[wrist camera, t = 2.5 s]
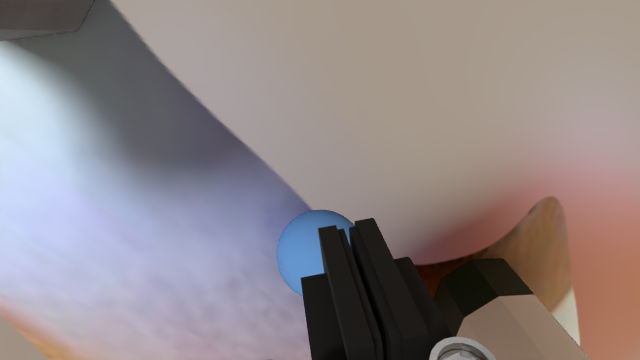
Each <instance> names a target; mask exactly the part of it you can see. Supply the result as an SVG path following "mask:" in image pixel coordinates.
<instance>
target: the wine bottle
mask: <svg viewBox="0 0 640 360" xmlns="http://www.w3.org/2000/svg"><path fill="white" fill-rule="evenodd" d="M434 302H435V304H436V306H437V308H438V310H439V311H440V313H441V315H442V317H443V319H444V321H445V322H446V324H447V326H448V328H449V330H450V332H451V333H452V335H453V337H465V338H468V339H471V340H474V341H476V342H478V343H479V344H481V345H483V346H484V347H486V348H487V349H488V350H489V351H490V352H491V353H492V354H493V355H494V356H495V357H496V359H497V360H591V359H590V358H589V357H588V356H587V354H586V353H585V352H584V351H583V350H582V349H581V348H580V346H579V345H578V344H577V343H576V342H575V341H574V339H573V338H572V337H571V336H570V335H569V334H568V333H567V331H566V330H565V329H564V328H563V327H562V326H561V325H560V323H559V322H558V321H557V320H556V319H555V318H554V316H553V315H552V314H551V313H550V312H549V311H548V310H547V308H546V307H545V306H544V305H543V304H542V303H541V302H540V300H539V299H538V298H537V297H536V296H535V295H534V293H533V292H532V291H531V290H530V289H529V288H528V287H527V285H526V284H525V283H524V282H523V281H522V280H521V279H520V277H519V276H518V275H517V274H516V273H515V272H514V270H513V269H512V268H511V267H510V266H509V265H508V264H507V262H506V261H505V260H504V259H479V260H470V261H469V262H467V263H466V264H464V265H462V266H461V267H459V268H458V269H456V270H455V271H453V272H452V273H450V274H449V275H447V276H446V277H444V278H443V279H441V281H440V284H439V286H438V289H437V292H436V294H435V297H434Z"/></svg>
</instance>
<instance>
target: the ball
mask: <svg viewBox="0 0 640 360" xmlns="http://www.w3.org/2000/svg"><path fill="white" fill-rule="evenodd" d="M332 225H336V227H337V229H343V228H344V230H345V233H346V236H347V239H348V242H349V245H350V237H349V227H353V226H354V225H353V223H352V222H350V221H349V220H348V219H347V218H345V217H344V216H342V215H340V214H338V213H336V212H333V211H327V210H314V211H309V212H306V213H304V214H301V215H300V216H298V217H296V218H295V219H294V220H292V221H291V222H290V223H289V224H288V225H287V227H286V228H285V229H284V231H283V233H282V234H281V237H280V239H279V242H278V247H277V264H278V268H279V271H280V274H281V276H282V278H283V279H284V281H285V282H286V284H287V285H288V286H289V287H290V288H291V289H292V290H293V291H295V292H296V293H298V294H299V295H301V296H303V293H302V286H301V277H307V276H312V275H317V274H322V273H324V268H323V261H322V254H321V248H320V241H319V234H318V228H321V227H327V226H332Z"/></svg>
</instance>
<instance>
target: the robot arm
mask: <svg viewBox="0 0 640 360" xmlns="http://www.w3.org/2000/svg"><path fill="white" fill-rule="evenodd" d="M318 234H319V241H320V248H321V254H322V261H323V268H324V273H322V274H317V275H312V276H307V277H301V286H302V293H303V300H304V307H305V314H306V321H307V328H308V336H309V343H310V350H311V357H312V360H497V359H496V357H495V356H494V355H493V354H492V353H491V352H490V351H489V350H488V349H487V348H486V347H484V346H483V345H481V344H479V343H478V342H476V341H474V340H471V339H468V338H465V337H453V335H452V333H451V332H450V330H449V328H448V326H447V324H446V322H445V321H444V319H443V317H442V315H441V313H440V311H439V310H438V308H437V306H436V304H435V302H434V300H433V299H432V297H431V295H430V293H429V291H428V289H427V288H426V286H425V284H424V282H423V280H422V278H421V277H420V275H419V273H418V271H417V269H416V267H415V266H414V264H413V262H412V261H411V259H410V258H409V257H404V258H399V259H393V257H392V255H391V253H390V251H389V249H388V247H387V244H386V242H385V241H384V238H383V236H382V234H381V232H380V230H379V228H378V226H377V224H376V222H375V220H374V219H373V218H370V219H364V220H359V221H355V226H353V227H349V237H350V245H349V242H348V239H347V236H346V233H345V230H344V228H343V229H337V227H336V225H332V226H327V227H321V228H318Z"/></svg>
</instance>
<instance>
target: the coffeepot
mask: <svg viewBox="0 0 640 360" xmlns="http://www.w3.org/2000/svg"><path fill="white" fill-rule="evenodd" d="M94 1H95V0H0V41H4V40H12V39H19V38H27V37H35V36H43V35H51V34H59V33H67V32H75V31H78V30H79V28H80V26H81V24H82V22H83V20H84V18H85V16H86V14H87V12H88V11H89V9H90V7H91V6H92V4H93V2H94Z"/></svg>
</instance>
